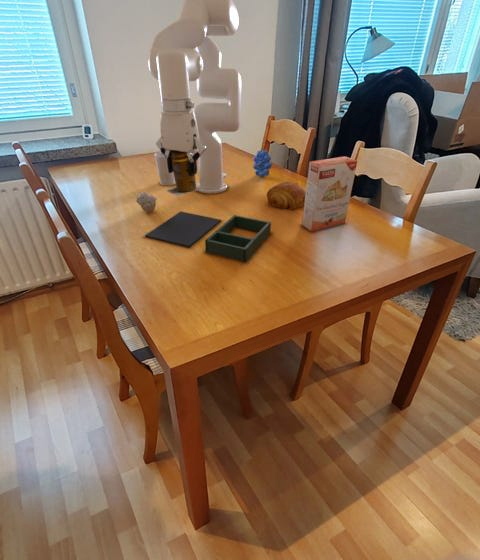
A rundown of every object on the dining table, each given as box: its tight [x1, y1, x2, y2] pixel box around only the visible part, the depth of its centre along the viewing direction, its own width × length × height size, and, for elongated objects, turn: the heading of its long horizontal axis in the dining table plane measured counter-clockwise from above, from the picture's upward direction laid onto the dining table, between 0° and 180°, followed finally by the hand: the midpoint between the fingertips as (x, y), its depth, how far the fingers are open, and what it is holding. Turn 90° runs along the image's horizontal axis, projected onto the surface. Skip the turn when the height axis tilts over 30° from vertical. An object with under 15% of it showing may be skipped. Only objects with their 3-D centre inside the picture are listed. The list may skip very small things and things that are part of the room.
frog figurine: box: [135, 192, 157, 213], centre depth 123 cm, size 6×7×7 cm
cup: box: [154, 151, 176, 187], centre depth 147 cm, size 8×8×12 cm
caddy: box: [204, 214, 272, 263], centre depth 105 cm, size 19×13×4 cm, turn 155°
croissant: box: [266, 181, 306, 210], centre depth 130 cm, size 14×16×8 cm
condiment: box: [165, 150, 202, 197], centre depth 103 cm, size 7×8×12 cm
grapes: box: [252, 149, 273, 179], centre depth 153 cm, size 12×7×12 cm, turn 34°
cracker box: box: [301, 156, 358, 232], centre depth 111 cm, size 14×6×21 cm, turn 117°
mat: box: [144, 211, 222, 249], centre depth 114 cm, size 20×16×1 cm
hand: (182, 172), depth 104 cm, fingers closed on condiment, 6 cm apart
